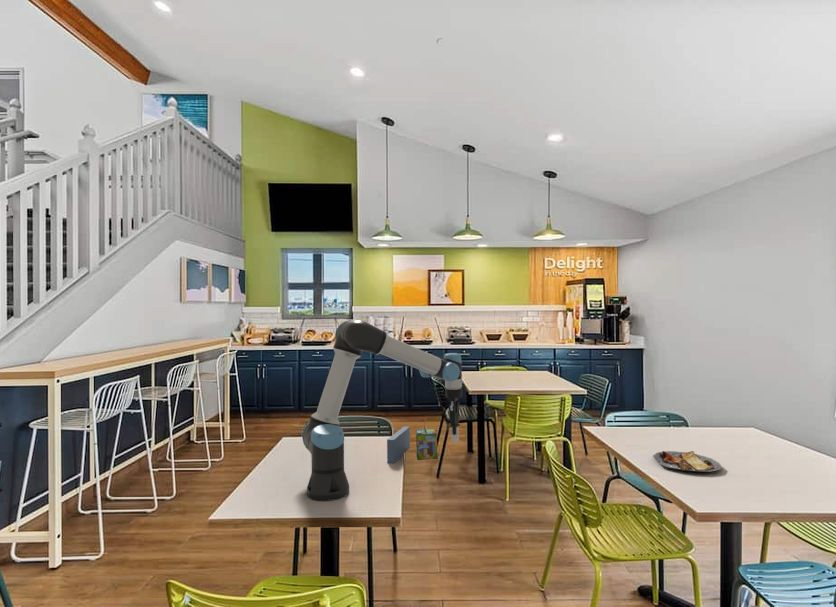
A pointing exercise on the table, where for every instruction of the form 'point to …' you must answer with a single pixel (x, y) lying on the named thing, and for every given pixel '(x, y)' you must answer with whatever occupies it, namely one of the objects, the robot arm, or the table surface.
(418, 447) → the chalk box
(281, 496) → the table surface
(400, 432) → the grayish blue board
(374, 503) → the table surface
